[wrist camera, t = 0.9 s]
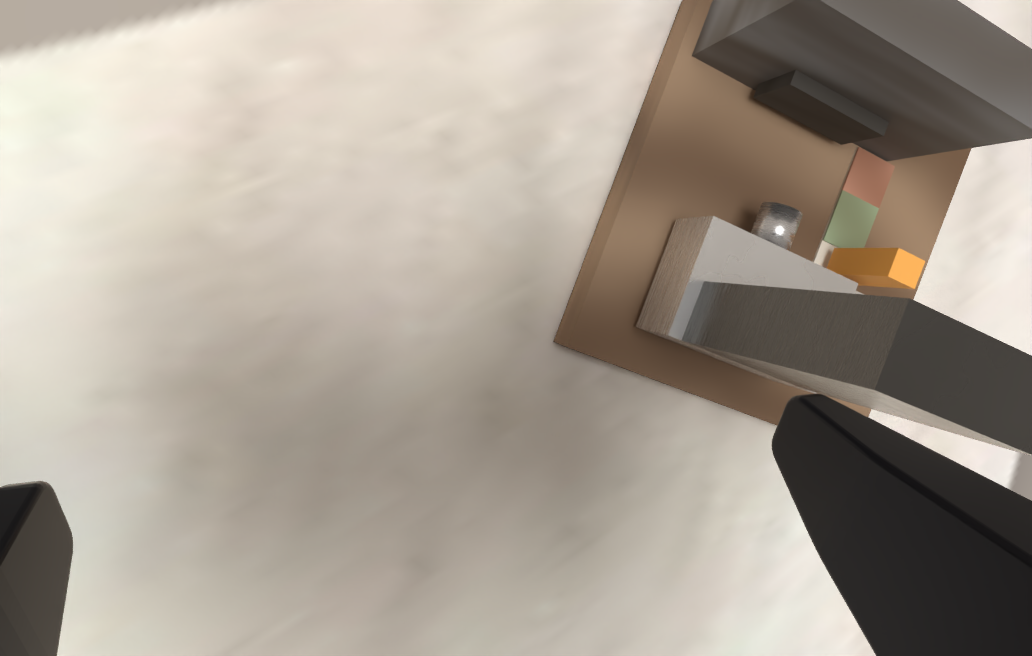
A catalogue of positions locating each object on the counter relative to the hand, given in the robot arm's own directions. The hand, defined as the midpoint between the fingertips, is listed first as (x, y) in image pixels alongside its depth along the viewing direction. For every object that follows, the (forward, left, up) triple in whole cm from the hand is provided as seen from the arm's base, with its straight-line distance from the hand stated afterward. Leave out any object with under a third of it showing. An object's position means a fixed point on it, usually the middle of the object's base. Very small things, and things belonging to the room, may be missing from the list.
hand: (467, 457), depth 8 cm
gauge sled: (+4, -12, -14) cm, 19 cm away
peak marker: (+6, -16, -13) cm, 22 cm away
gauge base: (+7, -13, -15) cm, 22 cm away
